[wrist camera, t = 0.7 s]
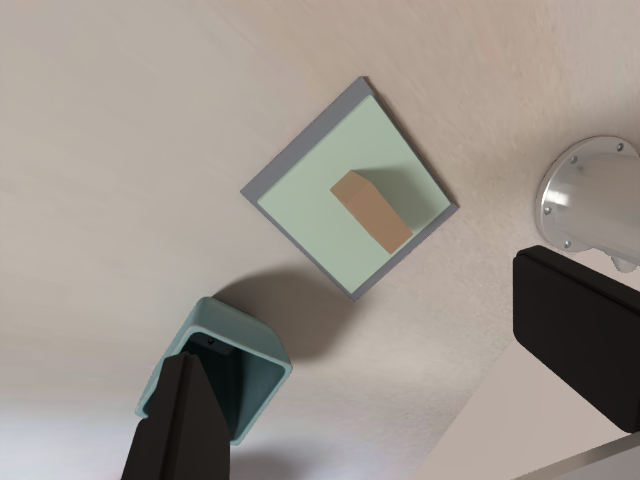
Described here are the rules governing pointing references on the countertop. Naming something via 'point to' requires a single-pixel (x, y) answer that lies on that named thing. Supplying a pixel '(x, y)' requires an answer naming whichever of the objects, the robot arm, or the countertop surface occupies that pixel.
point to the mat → (304, 145)
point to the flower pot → (229, 362)
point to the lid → (356, 196)
